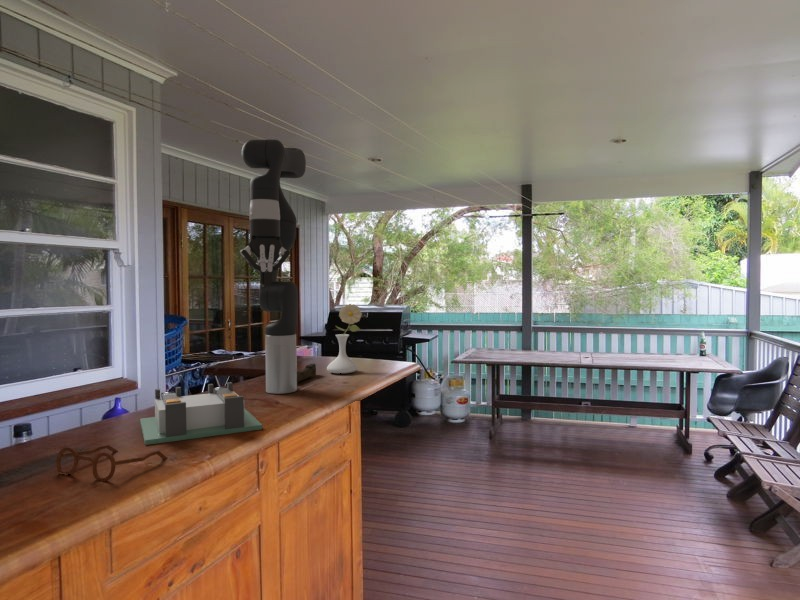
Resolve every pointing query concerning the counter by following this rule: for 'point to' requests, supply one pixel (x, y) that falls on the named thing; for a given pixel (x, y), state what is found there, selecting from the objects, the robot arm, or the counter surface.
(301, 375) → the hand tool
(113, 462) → the glasses
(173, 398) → the strap
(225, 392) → the strap
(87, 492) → the counter surface
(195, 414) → the base
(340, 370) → the flower in vase
